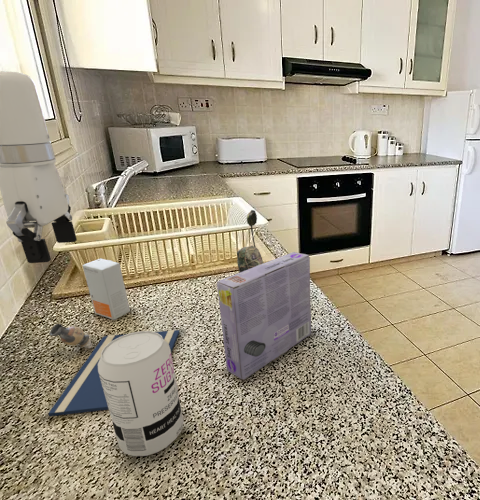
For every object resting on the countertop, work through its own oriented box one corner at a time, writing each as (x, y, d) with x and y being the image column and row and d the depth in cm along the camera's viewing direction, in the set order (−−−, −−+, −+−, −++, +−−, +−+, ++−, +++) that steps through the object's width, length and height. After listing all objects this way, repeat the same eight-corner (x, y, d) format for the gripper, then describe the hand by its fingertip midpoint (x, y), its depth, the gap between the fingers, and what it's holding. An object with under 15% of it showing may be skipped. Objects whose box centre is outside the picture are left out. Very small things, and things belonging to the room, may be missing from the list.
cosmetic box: (94, 314, 82) (81, 264, 77) (112, 305, 85) (100, 257, 81) (113, 320, 80) (101, 270, 75) (131, 311, 83) (120, 262, 79)
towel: (49, 416, 55) (47, 413, 55) (104, 338, 74) (103, 335, 73) (150, 404, 58) (149, 401, 58) (179, 332, 76) (179, 329, 76)
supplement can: (123, 422, 55) (100, 336, 49) (184, 406, 58) (169, 323, 52) (115, 468, 48) (88, 374, 42) (184, 447, 51) (167, 357, 46)
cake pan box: (298, 323, 80) (296, 247, 74) (316, 332, 78) (315, 253, 71) (224, 371, 66) (213, 281, 59) (243, 383, 63) (233, 290, 56)
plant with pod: (229, 293, 92) (220, 215, 85) (261, 277, 101) (256, 205, 94) (253, 302, 88) (246, 222, 81) (284, 284, 97) (281, 210, 90)
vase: (58, 362, 67) (49, 334, 64) (55, 348, 70) (46, 321, 68) (93, 351, 70) (86, 323, 68) (88, 337, 74) (81, 311, 72)
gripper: (29, 148, 68) (55, 236, 74) (-41, 163, 52) (-1, 273, 59) (75, 148, 70) (96, 234, 76) (20, 162, 54) (53, 269, 60)
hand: (54, 251), depth 67 cm, fingers open, 9 cm apart
